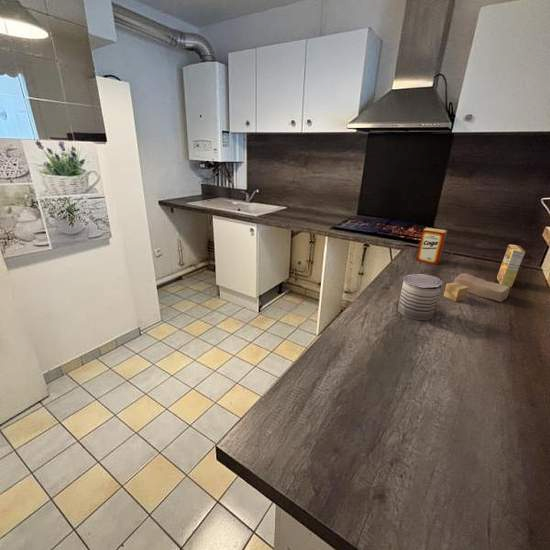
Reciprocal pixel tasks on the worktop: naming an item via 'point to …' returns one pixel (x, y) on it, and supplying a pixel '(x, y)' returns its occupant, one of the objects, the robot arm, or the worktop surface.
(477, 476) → the worktop surface
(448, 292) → the beech block
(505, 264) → the candy box
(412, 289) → the can
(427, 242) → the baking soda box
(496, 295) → the brick
